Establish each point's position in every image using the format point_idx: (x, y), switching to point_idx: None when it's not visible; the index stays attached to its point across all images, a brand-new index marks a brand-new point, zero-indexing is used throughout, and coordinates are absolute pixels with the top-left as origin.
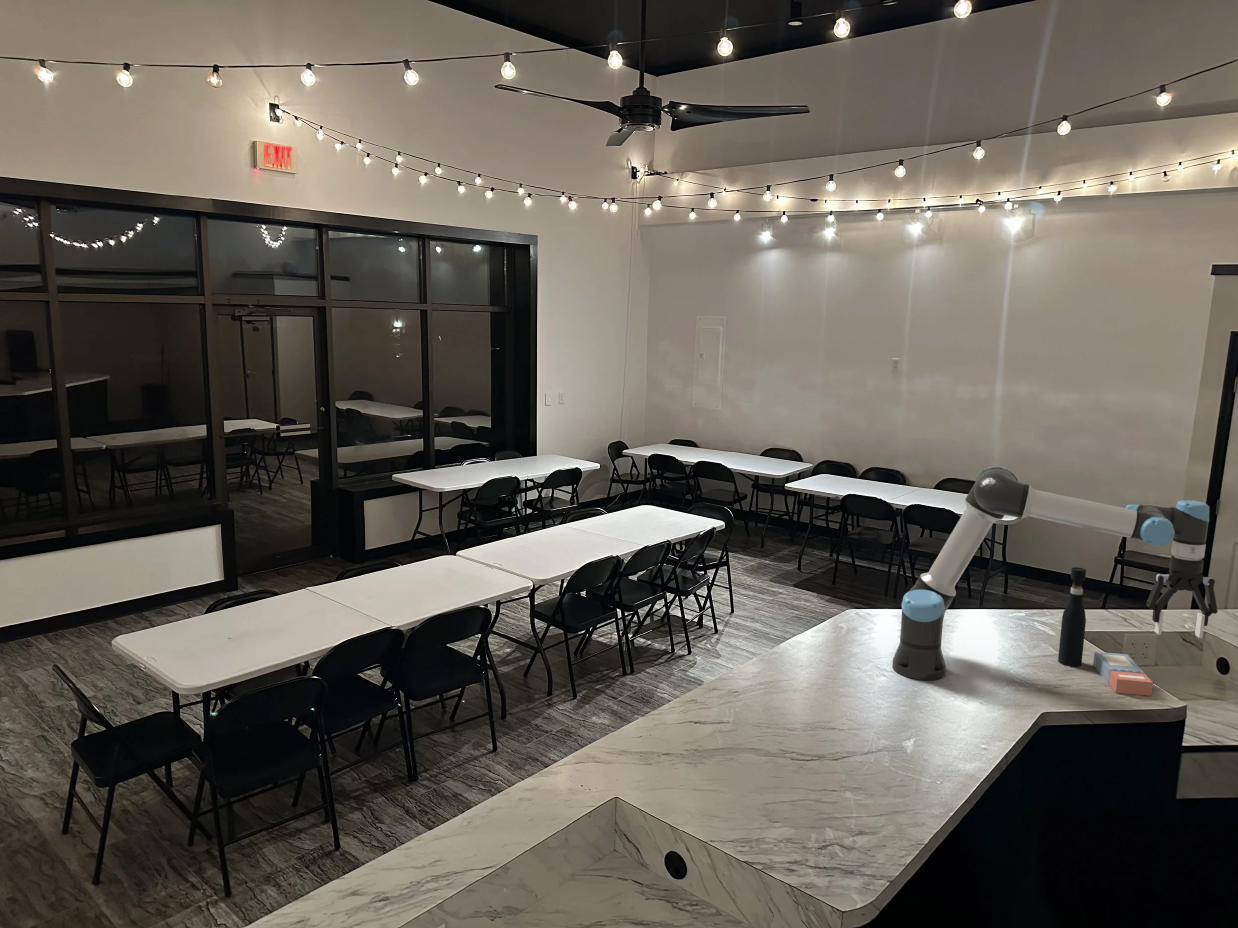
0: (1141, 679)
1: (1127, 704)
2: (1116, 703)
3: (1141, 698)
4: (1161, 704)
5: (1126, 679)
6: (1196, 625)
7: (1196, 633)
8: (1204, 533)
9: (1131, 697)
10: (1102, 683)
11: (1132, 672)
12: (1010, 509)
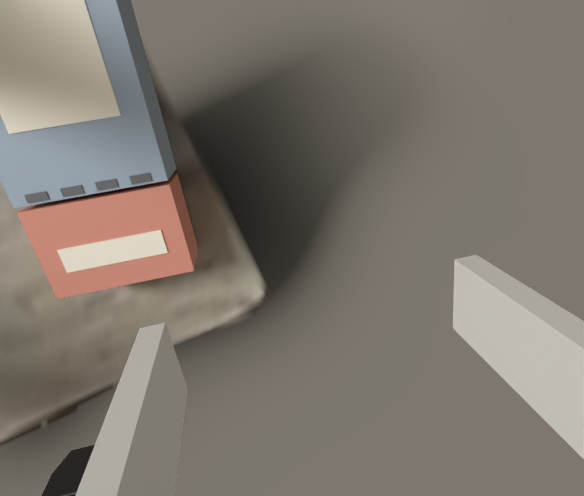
0: (152, 259)
1: (121, 345)
2: (88, 352)
3: (165, 279)
4: (222, 299)
5: (94, 287)
6: (514, 311)
7: (464, 291)
8: None
9: (134, 285)
10: None
11: (117, 188)
12: None
